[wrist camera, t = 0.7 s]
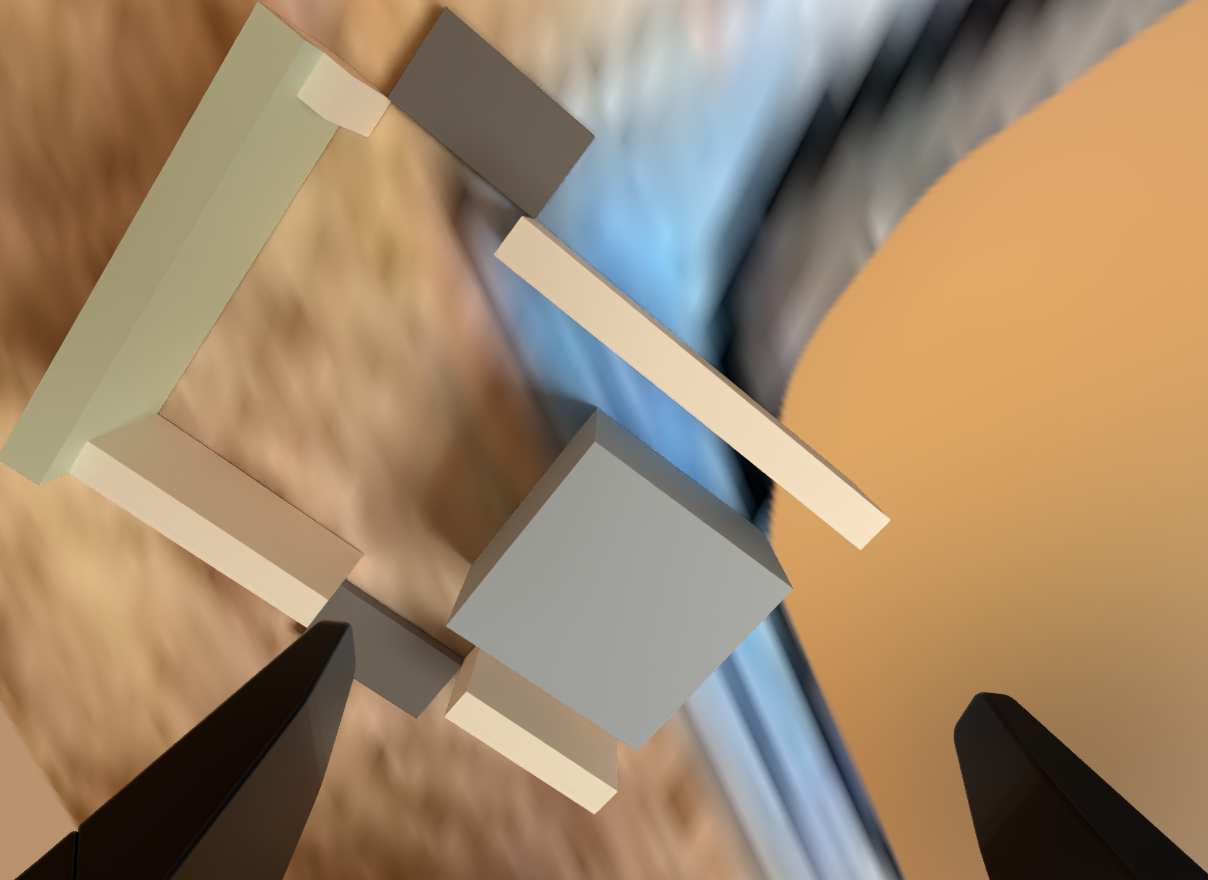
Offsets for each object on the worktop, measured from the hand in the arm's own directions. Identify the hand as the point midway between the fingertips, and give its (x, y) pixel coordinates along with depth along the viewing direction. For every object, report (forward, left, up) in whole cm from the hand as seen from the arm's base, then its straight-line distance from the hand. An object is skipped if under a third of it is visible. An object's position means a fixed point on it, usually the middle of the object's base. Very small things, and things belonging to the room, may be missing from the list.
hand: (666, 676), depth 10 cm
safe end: (+13, +3, -12) cm, 18 cm away
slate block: (-2, +4, -13) cm, 13 cm away
